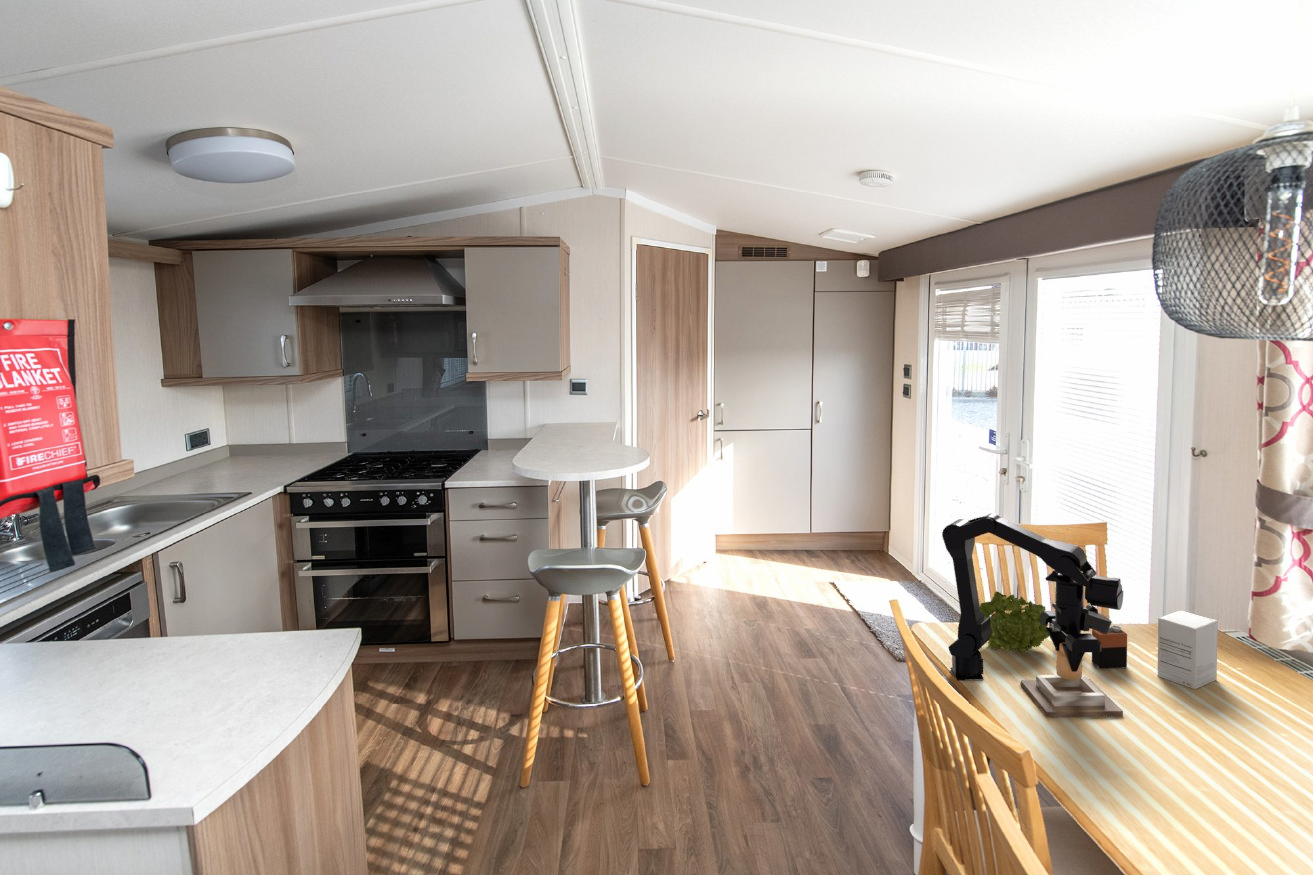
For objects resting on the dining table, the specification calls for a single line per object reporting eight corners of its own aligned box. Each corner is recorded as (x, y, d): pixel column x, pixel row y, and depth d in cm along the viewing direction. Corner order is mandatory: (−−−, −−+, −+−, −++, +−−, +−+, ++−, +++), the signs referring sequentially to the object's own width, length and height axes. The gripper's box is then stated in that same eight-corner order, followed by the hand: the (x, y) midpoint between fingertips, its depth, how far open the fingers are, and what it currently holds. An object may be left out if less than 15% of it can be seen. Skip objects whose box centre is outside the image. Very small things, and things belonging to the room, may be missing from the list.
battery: (1127, 668, 193) (1128, 630, 191) (1100, 669, 193) (1100, 631, 191) (1117, 660, 197) (1118, 623, 196) (1090, 662, 197) (1091, 624, 196)
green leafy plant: (1031, 616, 217) (1062, 594, 204) (1031, 668, 209) (1063, 649, 196) (968, 597, 219) (995, 574, 205) (966, 648, 210) (993, 628, 197)
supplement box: (1178, 667, 191) (1179, 609, 189) (1217, 680, 183) (1219, 620, 181) (1155, 675, 188) (1156, 616, 186) (1194, 689, 180) (1196, 628, 178)
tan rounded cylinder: (1062, 679, 176) (1062, 650, 175) (1052, 669, 181) (1052, 641, 180) (1086, 679, 175) (1086, 649, 174) (1076, 669, 180) (1076, 640, 179)
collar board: (1047, 717, 172) (1047, 701, 171) (1020, 684, 188) (1020, 670, 187) (1122, 716, 170) (1123, 700, 170) (1089, 683, 186) (1089, 669, 185)
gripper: (1127, 615, 166) (1126, 683, 168) (1087, 586, 184) (1087, 648, 186) (1073, 616, 167) (1072, 684, 169) (1039, 588, 185) (1039, 649, 187)
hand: (1069, 666), depth 178 cm, fingers closed on tan rounded cylinder, 5 cm apart
